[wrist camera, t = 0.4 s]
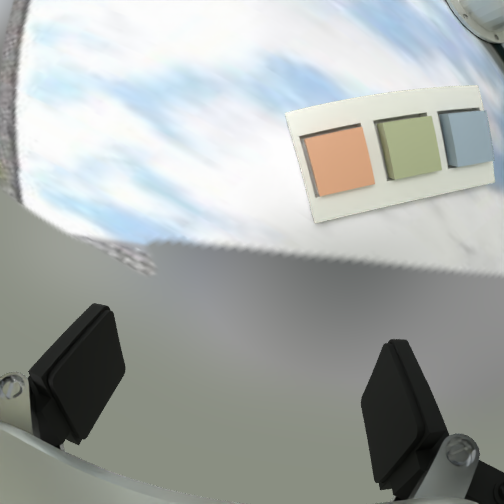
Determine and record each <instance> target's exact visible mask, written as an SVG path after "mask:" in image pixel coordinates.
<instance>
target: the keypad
mask: <svg viewBox="0 0 504 504" xmlns="http://www.w3.org/2000/svg"><path fill="white" fill-rule="evenodd" d="M469 111H484V108H483V103H482V99H481V95H480V91H479V87H478V85H470V86H448V87H434V88H423V89H413V90H404V91H396V92H388V93H381V94H375V95H368V96H362V97H356V98H351V99H345V100H340V101H335V102H330V103H325V104H320V105H316V106H311V107H307V108H303V109H298V110H294V111H290V112H286V113H285V117H286V120H287V124H288V127H289V130H290V134H291V137H292V140H293V144H294V147H295V151H296V154H297V158H298V162H299V165H300V169H301V173H302V176H303V180H304V184H305V188H306V192H307V195H308V199H309V203H310V207H311V211H312V215H313V219H314V222H315V223H319V222H323V221H328V220H332V219H336V218H340V217H345V216H349V215H353V214H357V213H362V212H366V211H370V210H374V209H379V208H383V207H387V206H392V205H396V204H401V203H405V202H409V201H414V200H418V199H423V198H427V197H432V196H436V195H440V194H445V193H449V192H454V191H459V190H463V189H468V188H472V187H477V186H481V185H486V184H491V183H495V179H494V169H493V161H489V162H484V163H478V164H472V165H467V166H461V167H456V166H452V165H449V164H448V158H447V152H446V146H445V141H444V136H443V131H442V126H441V121H440V117H439V114H448V113H458V112H469ZM423 116H432V120H433V124H434V129H435V133H436V138H437V143H438V149H439V154H440V160H441V166H442V170H440V171H435V172H430V173H425V174H420V175H415V176H410V177H405V178H401V179H396V180H395V179H392V178H390V177H388V173H387V168H386V163H385V158H384V154H383V149H382V145H381V140H380V136H379V132H378V128H377V124H378V123H384V122H390V121H396V120H402V119H409V118H416V117H423ZM356 127H362V128H363V132H364V136H365V140H366V144H367V148H368V152H369V157H370V161H371V166H372V170H373V175H374V180H375V184H373V185H368V186H364V187H359V188H355V189H350V190H346V191H342V192H337V193H333V194H329V195H325V196H319V194H318V191H317V187H316V183H315V179H314V175H313V172H312V168H311V164H310V160H309V157H308V153H307V149H306V146H305V142H304V139H306V138H310V137H314V136H319V135H323V134H328V133H332V132H337V131H342V130H346V129H351V128H356Z"/></svg>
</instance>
